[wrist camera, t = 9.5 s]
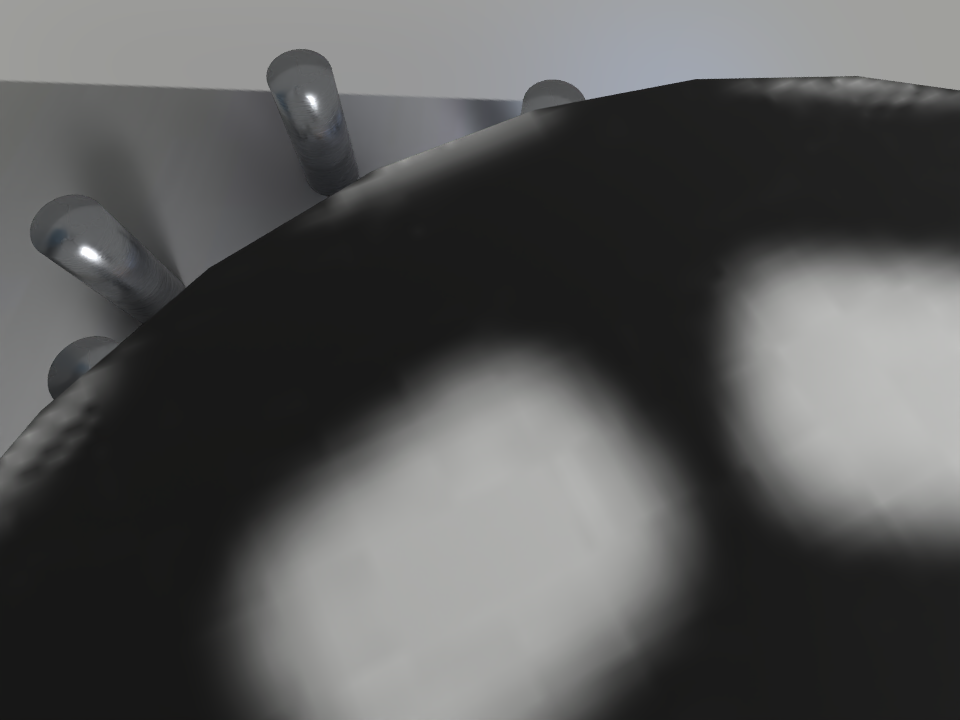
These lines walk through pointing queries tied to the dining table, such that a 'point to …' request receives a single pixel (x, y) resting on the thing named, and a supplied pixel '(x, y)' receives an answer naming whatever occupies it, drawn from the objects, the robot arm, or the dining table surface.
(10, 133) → the dining table surface
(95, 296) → the dining table surface
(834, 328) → the spotted tube
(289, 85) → the spacer posts
